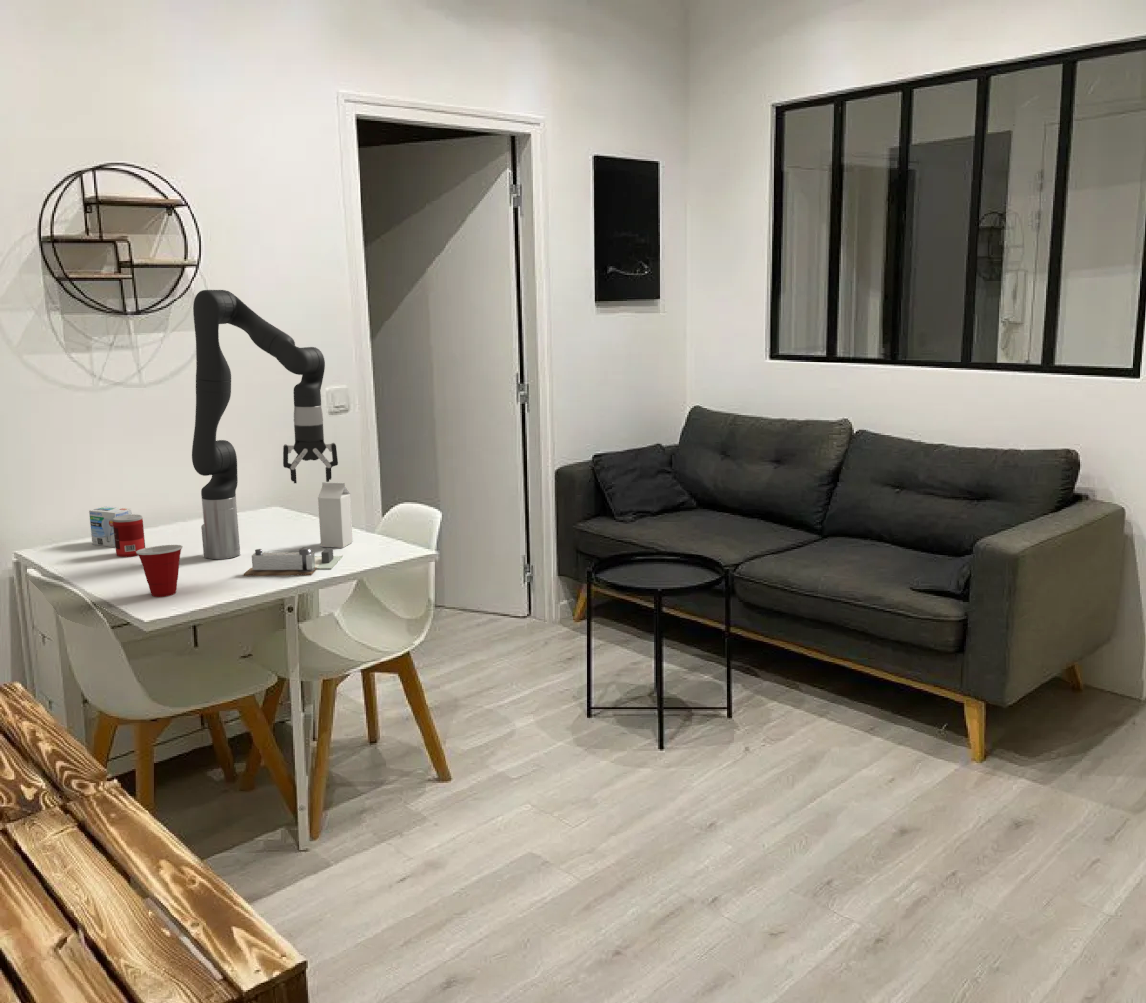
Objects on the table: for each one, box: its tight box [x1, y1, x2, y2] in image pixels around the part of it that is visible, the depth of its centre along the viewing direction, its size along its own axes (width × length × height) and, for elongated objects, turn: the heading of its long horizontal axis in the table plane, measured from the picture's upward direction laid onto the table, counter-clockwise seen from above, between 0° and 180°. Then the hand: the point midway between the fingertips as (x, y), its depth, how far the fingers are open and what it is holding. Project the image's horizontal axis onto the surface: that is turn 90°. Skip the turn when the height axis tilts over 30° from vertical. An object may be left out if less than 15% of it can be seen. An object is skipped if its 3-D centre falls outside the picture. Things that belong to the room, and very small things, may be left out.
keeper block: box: [320, 547, 334, 563], centre depth 280 cm, size 2×5×4 cm, turn 0°
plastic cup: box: [136, 544, 183, 598], centre depth 250 cm, size 11×11×12 cm
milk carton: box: [317, 481, 354, 549], centre depth 298 cm, size 7×7×19 cm
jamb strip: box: [243, 567, 318, 577], centre depth 270 cm, size 18×6×1 cm, turn 90°
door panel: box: [251, 555, 343, 570], centre depth 279 cm, size 22×13×1 cm, turn 90°
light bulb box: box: [88, 506, 133, 548], centre depth 303 cm, size 11×7×11 cm, turn 68°
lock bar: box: [251, 547, 315, 570], centre depth 269 cm, size 16×3×5 cm, turn 90°
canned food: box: [113, 514, 146, 558], centre depth 291 cm, size 8×8×11 cm
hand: (311, 482), depth 271 cm, fingers open, 8 cm apart
